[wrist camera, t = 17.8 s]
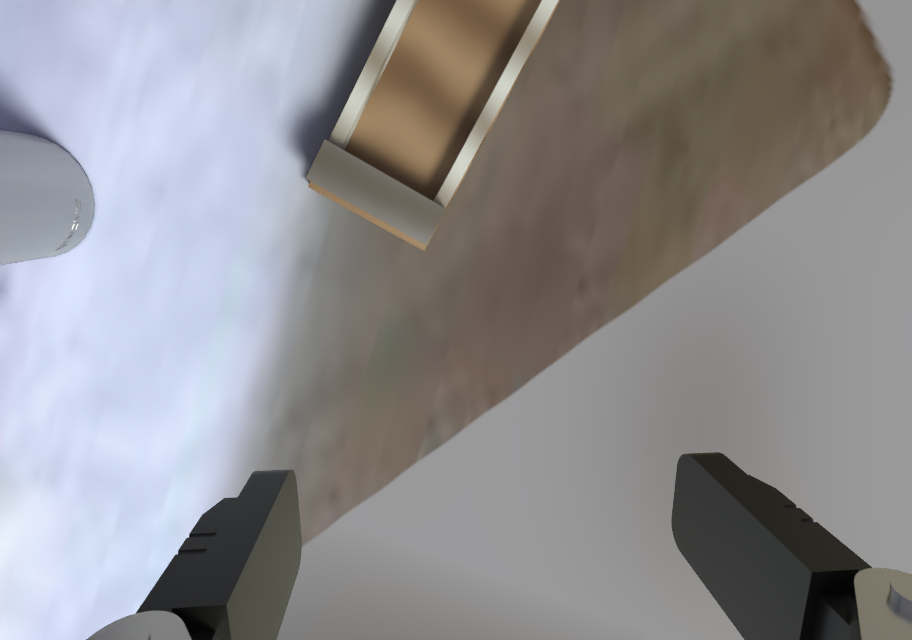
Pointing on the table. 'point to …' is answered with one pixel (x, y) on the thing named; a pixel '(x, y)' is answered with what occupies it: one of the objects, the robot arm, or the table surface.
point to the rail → (425, 108)
